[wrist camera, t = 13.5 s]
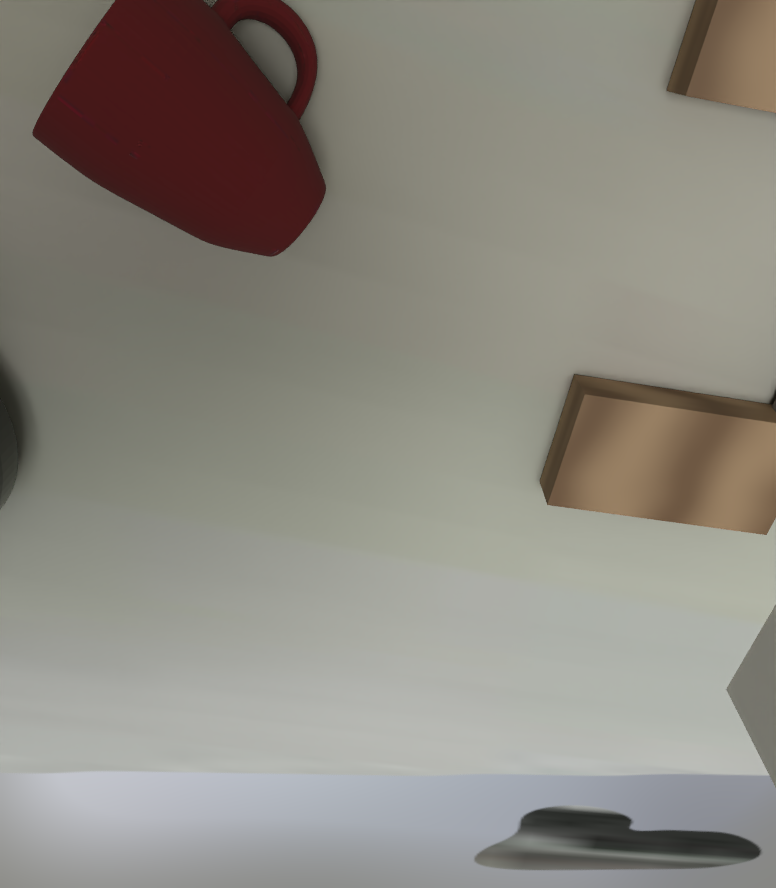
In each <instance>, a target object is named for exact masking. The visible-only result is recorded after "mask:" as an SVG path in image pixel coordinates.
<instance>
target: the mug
mask: <svg viewBox="0 0 776 888" xmlns="http://www.w3.org/2000/svg"><path fill="white" fill-rule="evenodd" d="M243 19H253V20H257V21H261V22H263V23H265V24H267V25H269V26H270V27H272V28H273V29H275V30H276V31H277V32H278V33H279V34H280V35H281V36H282V37H283V38H284V39H285V41H286V42H287V43H288V45H289V47H290V48H291V50H292V52H293V54H294V57H295V60H296V64H297V82H296V86H295V89H294V91H293V94H292V96H291V98H290V100H289V101H288V103H287V104H286V103H285V101H284V100H283V99H282V98H281V96H280V95H279V94H278V92H277V91H276V90H275V89H274V87H273V86H272V85H271V83H270V82H269V81H268V80H267V78H266V77H265V76H264V74H263V73H262V72H261V71H260V69H259V68H258V67H257V66H256V64H255V63H254V62H253V60H252V59H251V58H250V56H249V55H248V54H247V52H246V51H245V50H244V48H243V47H242V46H241V45H240V43H239V42H238V41H237V39H236V38H235V37H234V35H233V34H232V33H231V31H230V29H231V28H232V27H233V26H234V25H235V24H236V23H237V22H238V21H240V20H243ZM316 75H317V54H316V49H315V45H314V42H313V39H312V37H311V35H310V33H309V31H308V29H307V27H306V26H305V24H304V23H303V21H302V20H301V19H300V17H299V16H298V15H297V14H296V13H295V12H294V11H293V10H292V9H291V8H290V7H289V6H288V5H286V4H285V3H284V2H282V1H281V0H218V1H217V2H216V3H215V4H214V5H213V6H212V8H210V7H209V6H208V5H207V4H206V3H205V2H204V1H203V0H115V2H114V3H113V4H112V6H111V7H110V9H109V10H108V11H107V13H106V14H105V15H104V17H103V18H102V20H101V21H100V23H99V24H98V25H97V27H96V28H95V30H94V31H93V32H92V34H91V35H90V37H89V38H88V40H87V41H86V43H85V44H84V46H83V47H82V49H81V50H80V51H79V53H78V55H77V56H76V58H75V59H74V61H73V62H72V64H71V65H70V67H69V68H68V70H67V71H66V73H65V74H64V76H63V78H62V79H61V81H60V82H59V84H58V86H57V87H56V89H55V90H54V92H53V94H52V95H51V97H50V99H49V101H48V102H47V104H46V106H45V107H44V109H43V111H42V113H41V115H40V116H39V118H38V120H37V122H36V125H35V127H34V129H33V136H34V137H35V138H36V139H37V140H39V141H40V142H41V143H43V144H44V145H45V146H46V147H48V148H49V149H50V150H51V151H53V152H54V153H55V154H57V155H58V156H59V157H60V158H62V159H63V160H64V161H66V162H67V163H68V164H70V165H71V166H72V167H74V168H75V169H76V170H78V171H79V172H80V173H82V174H83V175H85V176H86V177H88V178H89V179H91V180H92V181H93V182H95V183H97V184H98V185H100V186H102V187H103V188H105V189H107V190H109V191H110V192H112V193H114V194H116V195H118V196H120V197H122V198H123V199H125V200H127V201H129V202H131V203H133V204H135V205H136V206H138V207H140V208H142V209H144V210H146V211H148V212H150V213H151V214H153V215H155V216H157V217H159V218H161V219H163V220H164V221H166V222H168V223H170V224H172V225H174V226H176V227H178V228H179V229H181V230H183V231H185V232H187V233H189V234H191V235H192V236H194V237H196V238H199V239H201V240H203V241H205V242H208V243H210V244H213V245H217V246H220V247H225V248H229V249H233V250H238V251H243V252H248V253H253V254H258V255H264V256H270V257H271V256H276V255H278V254H280V253H281V252H283V251H284V250H285V249H286V248H288V247H289V246H290V245H291V244H292V243H293V242H294V241H295V240H296V239H297V238H298V236H299V235H300V234H301V233H302V232H303V230H304V229H305V228H306V227H307V225H308V224H309V223H310V221H311V220H312V218H313V217H314V215H315V214H316V212H317V210H318V209H319V207H320V205H321V203H322V201H323V198H324V195H325V191H326V185H325V182H324V179H323V177H322V174H321V172H320V169H319V166H318V164H317V161H316V159H315V156H314V154H313V151H312V149H311V146H310V144H309V142H308V139H307V137H306V135H305V132H304V130H303V128H302V126H301V124H300V122H299V120H300V118H301V116H302V114H303V113H304V111H305V109H306V106H307V104H308V102H309V100H310V97H311V95H312V92H313V89H314V85H315V80H316Z"/></svg>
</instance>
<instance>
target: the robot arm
mask: <svg viewBox="0 0 776 888" xmlns="http://www.w3.org/2000/svg"><path fill="white" fill-rule="evenodd" d="M17 469H18V447H17V441H16V436H15V432H14V428H13V425H12V422H11V419H10V417H9V415H8V412H7V410H6V408H5V406H4V404H3V402H2V400H1V398H0V509H1V508H2V506H3V505H4V504H5V502H6V501H7V499H8V497H9V496H10V493H11V491H12V489H13V486H14V483H15V480H16V476H17ZM726 690H727V692H728V694H729V696H730V698H731V700H732V702H733V704H734V706H735V708H736V710H737V712H738V714H739V716H740V717H741V719H742V721H743V723H744V725H745V727H746V729H747V731H748V733H749V735H750V737H751V739H752V741H753V743H754V745H755V747H756V749H757V751H758V753H759V755H760V757H761V759H762V761H763V763H764V765H765V767H766V769H767V771H768V773H769V775H770V777H771V779H772V781H773V783H774V785H775V787H776V605H775V607H774V609H773V610H772V612H771V614H770V615H769V617H768V619H767V621H766V622H765V624H764V626H763V627H762V629H761V631H760V632H759V634H758V636H757V638H756V639H755V641H754V643H753V644H752V646H751V648H750V650H749V651H748V653H747V655H746V656H745V658H744V660H743V662H742V663H741V665H740V667H739V668H738V670H737V672H736V674H735V675H734V677H733V679H732V680H731V682H730V684H729V686H728V687H727V689H726Z"/></svg>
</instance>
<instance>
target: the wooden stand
mask: <svg viewBox="0 0 776 888" xmlns="http://www.w3.org/2000/svg"><path fill="white" fill-rule="evenodd" d="M667 91H669V92H673V93H677V94H681V95H685V96H689V97H695V98H700V99H705V100H711V101H716V102H721V103H727V104H732V105H737V106H742V107H748V108H753V109H758V110H764V111H769V112H774V113H776V0H696V2H695V5H694V8H693V11H692V14H691V17H690V20H689V23H688V26H687V29H686V32H685V35H684V39H683V42H682V45H681V48H680V51H679V54H678V57H677V60H676V63H675V66H674V69H673V72H672V75H671V79H670V82H669V85H668V88H667ZM540 483H541V487H542V490H543V493H544V496H545V499H546V502H547V505H552V506H560V507H567V508H574V509H581V510H589V511H596V512H603V513H611V514H618V515H625V516H632V517H640V518H647V519H654V520H662V521H669V522H676V523H683V524H691V525H698V526H705V527H713V528H720V529H727V530H734V531H742V532H749V533H756V534H764V535H767V533H768V531H769V529H770V527H771V525H772V524H773V522H774V520H775V518H776V399H775V401H774V403H773V405H771V404H764V403H758V402H751V401H745V400H738V399H732V398H725V397H719V396H712V395H705V394H699V393H692V392H686V391H679V390H673V389H666V388H660V387H653V386H647V385H640V384H634V383H627V382H621V381H614V380H607V379H601V378H594V377H588V376H581V375H575V374H574V377H573V380H572V383H571V386H570V390H569V393H568V396H567V399H566V402H565V405H564V408H563V411H562V414H561V417H560V420H559V423H558V426H557V430H556V433H555V436H554V439H553V442H552V445H551V448H550V451H549V454H548V457H547V460H546V463H545V466H544V470H543V473H542V476H541V479H540Z"/></svg>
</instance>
